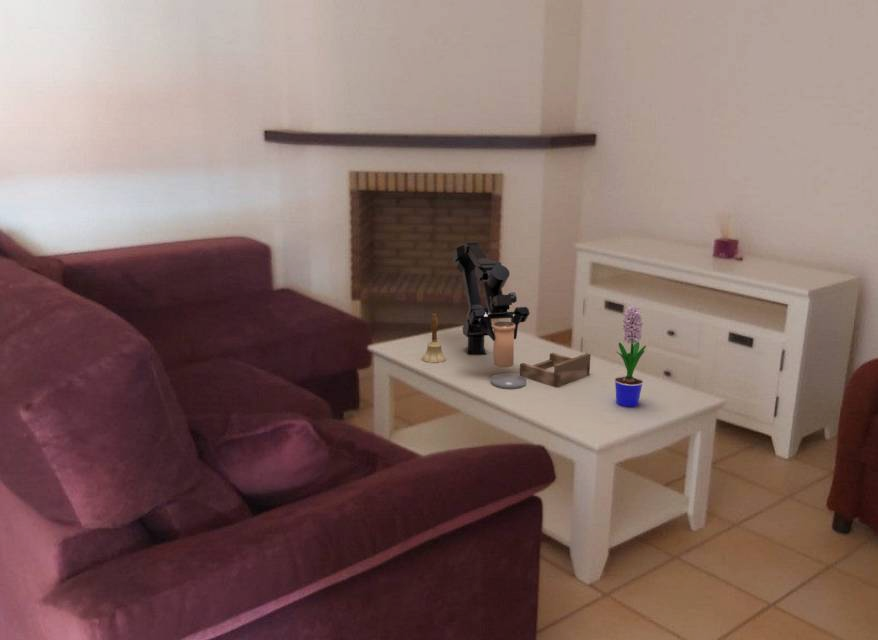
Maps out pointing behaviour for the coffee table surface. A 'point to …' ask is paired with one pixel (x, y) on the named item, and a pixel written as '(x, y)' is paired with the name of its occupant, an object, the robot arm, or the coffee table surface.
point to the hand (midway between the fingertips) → (504, 339)
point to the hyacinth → (630, 360)
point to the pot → (503, 344)
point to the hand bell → (434, 345)
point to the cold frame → (558, 369)
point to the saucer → (508, 381)
